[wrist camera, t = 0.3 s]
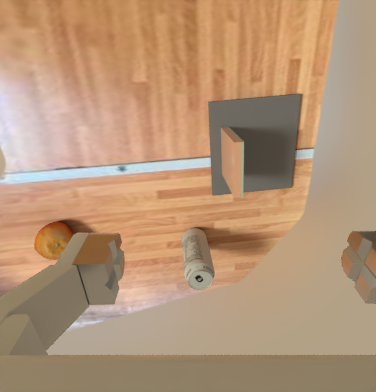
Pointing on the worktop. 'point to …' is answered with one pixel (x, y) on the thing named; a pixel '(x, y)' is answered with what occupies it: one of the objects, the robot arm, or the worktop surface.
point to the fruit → (53, 240)
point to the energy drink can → (197, 259)
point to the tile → (232, 161)
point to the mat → (257, 140)
